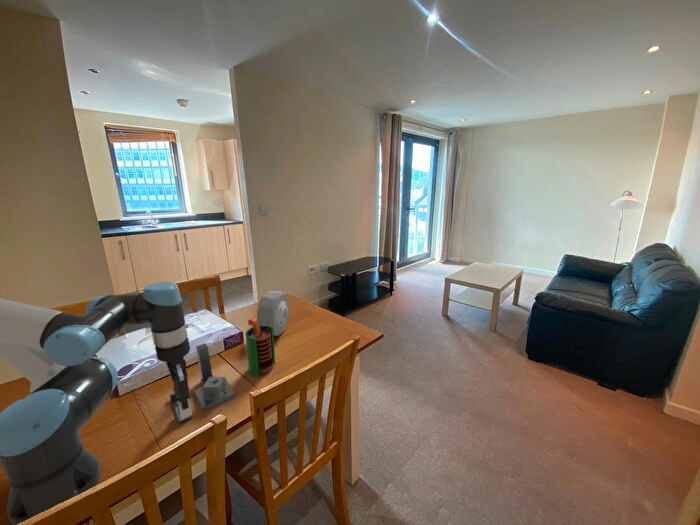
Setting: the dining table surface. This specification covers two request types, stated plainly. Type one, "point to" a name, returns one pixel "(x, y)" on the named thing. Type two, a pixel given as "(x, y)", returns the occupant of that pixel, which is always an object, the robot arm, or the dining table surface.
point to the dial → (274, 311)
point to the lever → (178, 409)
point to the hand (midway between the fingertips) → (186, 415)
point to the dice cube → (214, 388)
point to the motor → (260, 348)
